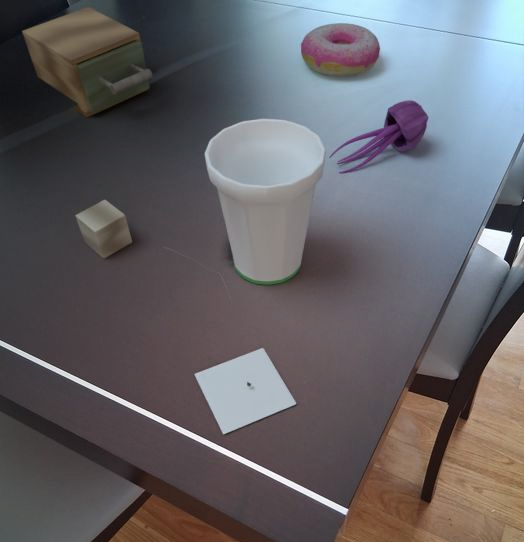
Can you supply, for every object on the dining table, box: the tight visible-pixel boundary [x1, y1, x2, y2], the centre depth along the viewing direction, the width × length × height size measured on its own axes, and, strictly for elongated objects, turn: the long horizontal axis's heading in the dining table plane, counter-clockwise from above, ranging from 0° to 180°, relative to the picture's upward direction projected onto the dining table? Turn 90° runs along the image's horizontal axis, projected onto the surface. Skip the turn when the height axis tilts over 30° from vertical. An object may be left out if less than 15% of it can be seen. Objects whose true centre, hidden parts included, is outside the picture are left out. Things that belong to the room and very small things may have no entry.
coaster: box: [194, 347, 297, 435], centre depth 58 cm, size 8×8×1 cm
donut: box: [300, 22, 381, 77], centre depth 98 cm, size 14×13×5 cm
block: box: [74, 199, 133, 260], centre depth 71 cm, size 4×4×4 cm
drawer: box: [76, 40, 154, 113], centre depth 92 cm, size 18×11×7 cm, turn 44°
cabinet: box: [21, 6, 150, 118], centre depth 94 cm, size 15×13×9 cm
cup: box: [204, 118, 327, 286], centre depth 64 cm, size 12×12×15 cm
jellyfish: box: [328, 99, 429, 174], centre depth 81 cm, size 7×7×15 cm
